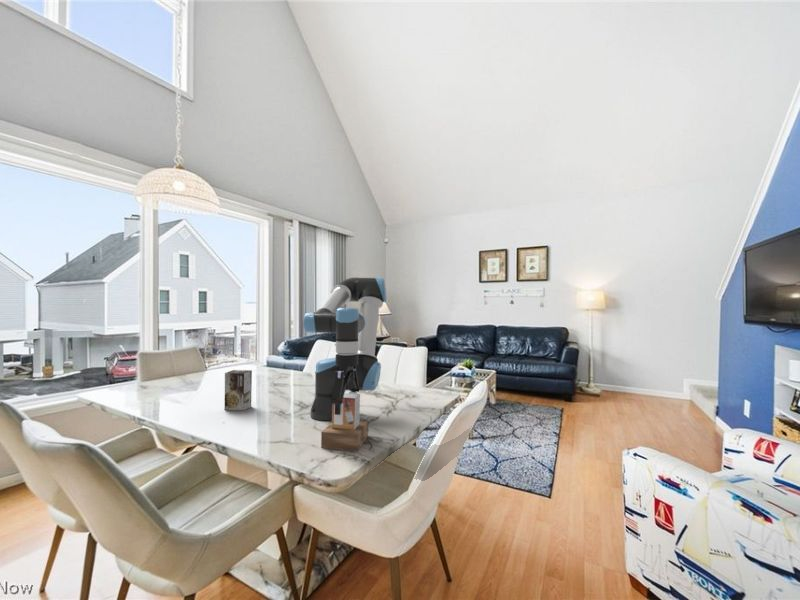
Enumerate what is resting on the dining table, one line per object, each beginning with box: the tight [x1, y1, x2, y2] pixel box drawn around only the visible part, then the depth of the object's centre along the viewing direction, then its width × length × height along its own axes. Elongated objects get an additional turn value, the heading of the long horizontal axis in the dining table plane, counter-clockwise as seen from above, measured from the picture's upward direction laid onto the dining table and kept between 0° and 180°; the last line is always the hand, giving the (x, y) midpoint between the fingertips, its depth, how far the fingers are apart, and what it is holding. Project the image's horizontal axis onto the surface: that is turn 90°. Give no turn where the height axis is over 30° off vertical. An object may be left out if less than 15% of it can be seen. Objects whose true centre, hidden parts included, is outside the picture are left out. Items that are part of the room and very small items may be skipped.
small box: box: [331, 392, 361, 430], centre depth 108 cm, size 8×6×10 cm
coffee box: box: [224, 369, 253, 411], centre depth 142 cm, size 9×6×16 cm
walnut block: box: [320, 420, 369, 452], centre depth 108 cm, size 12×12×5 cm
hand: (345, 417), depth 108 cm, fingers open, 13 cm apart
